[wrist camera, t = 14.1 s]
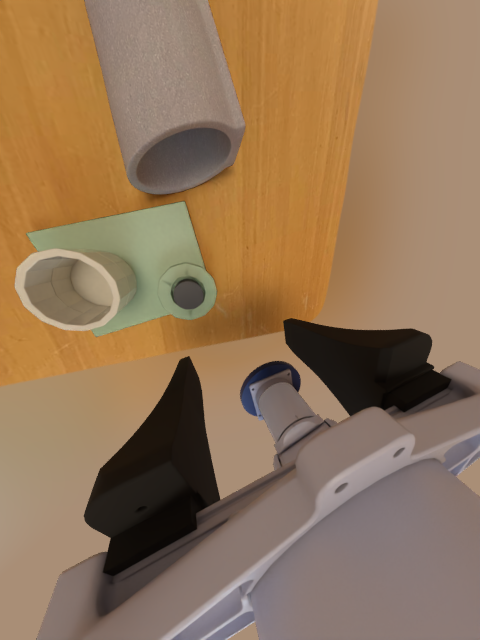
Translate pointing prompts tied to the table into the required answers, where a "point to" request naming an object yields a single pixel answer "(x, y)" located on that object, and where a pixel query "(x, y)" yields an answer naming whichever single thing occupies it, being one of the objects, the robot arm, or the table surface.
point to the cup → (75, 287)
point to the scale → (142, 259)
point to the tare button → (188, 294)
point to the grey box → (167, 91)
